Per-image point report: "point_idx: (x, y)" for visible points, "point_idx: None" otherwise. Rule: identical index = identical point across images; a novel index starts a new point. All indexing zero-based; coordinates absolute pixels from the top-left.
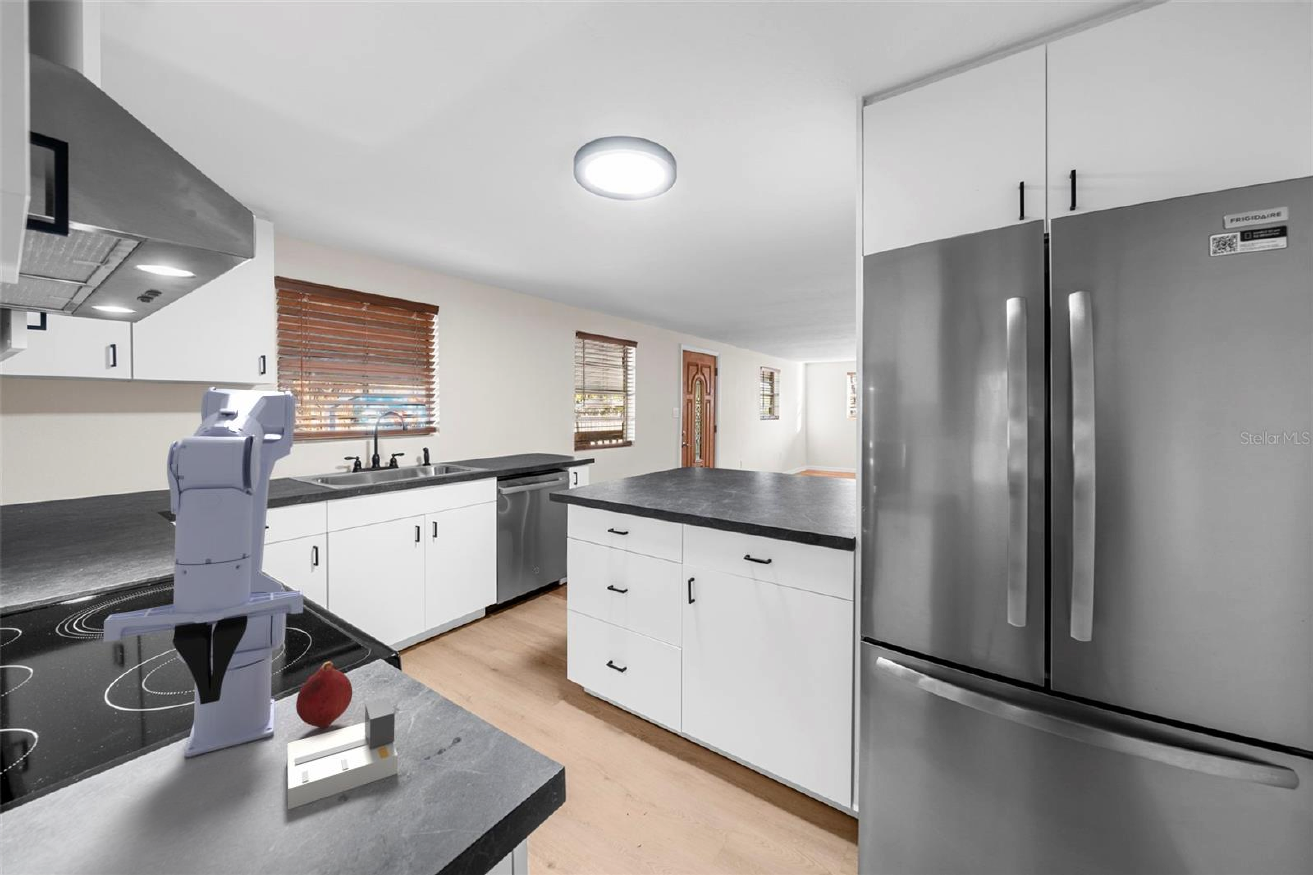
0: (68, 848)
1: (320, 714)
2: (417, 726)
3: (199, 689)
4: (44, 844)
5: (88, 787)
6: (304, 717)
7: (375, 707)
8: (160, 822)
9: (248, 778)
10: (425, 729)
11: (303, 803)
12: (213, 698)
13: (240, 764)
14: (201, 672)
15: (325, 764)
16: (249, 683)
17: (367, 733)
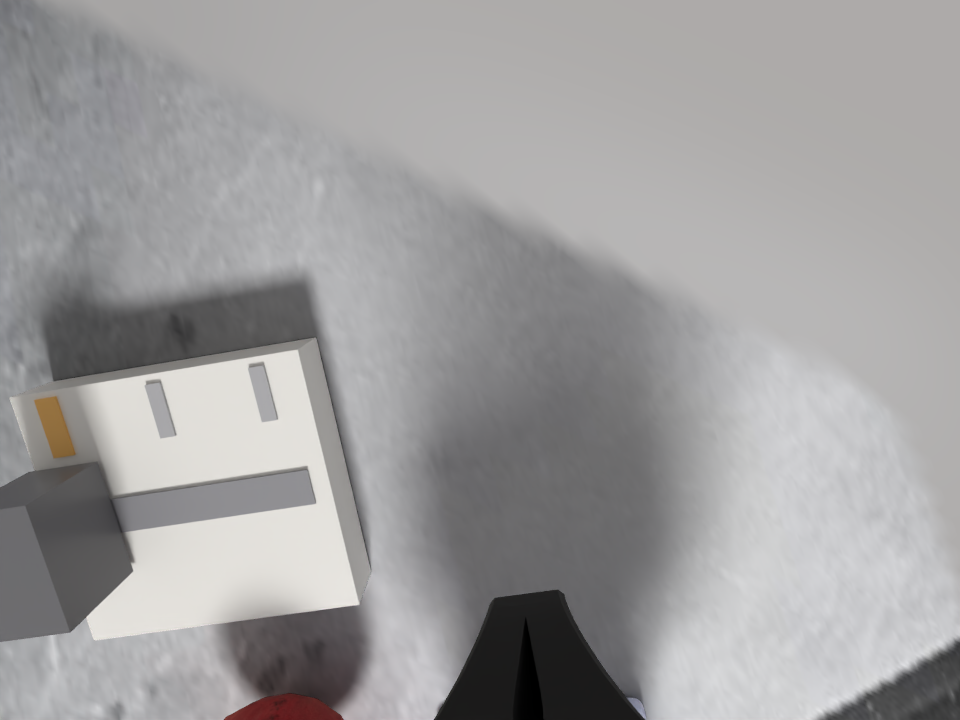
0: (790, 405)
1: (276, 705)
2: None
3: (570, 626)
4: (847, 446)
5: (831, 656)
6: (330, 717)
7: (26, 588)
8: (615, 422)
9: (453, 531)
10: None
11: (279, 343)
12: (510, 602)
13: None
14: (573, 698)
15: (220, 438)
16: None
17: (100, 526)
